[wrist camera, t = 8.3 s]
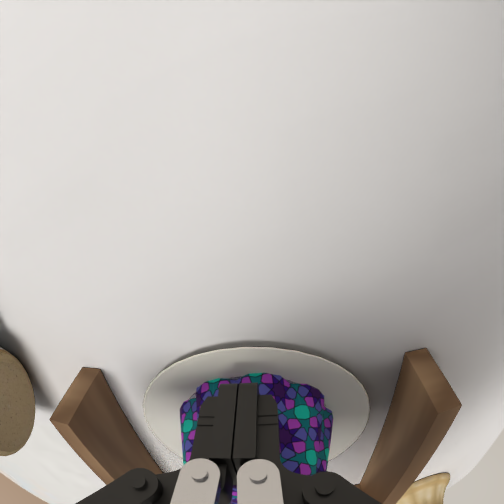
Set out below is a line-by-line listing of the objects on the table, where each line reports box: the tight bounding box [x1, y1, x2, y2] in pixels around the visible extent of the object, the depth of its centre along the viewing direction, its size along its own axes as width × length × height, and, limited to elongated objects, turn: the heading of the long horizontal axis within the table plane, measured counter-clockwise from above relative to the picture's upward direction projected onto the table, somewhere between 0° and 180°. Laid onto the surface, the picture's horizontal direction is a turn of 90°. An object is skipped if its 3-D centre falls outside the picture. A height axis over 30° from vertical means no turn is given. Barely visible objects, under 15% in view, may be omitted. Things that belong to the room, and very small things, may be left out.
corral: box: [49, 348, 462, 504], centre depth 14 cm, size 17×16×4 cm
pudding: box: [143, 347, 370, 504], centre depth 12 cm, size 12×12×5 cm
